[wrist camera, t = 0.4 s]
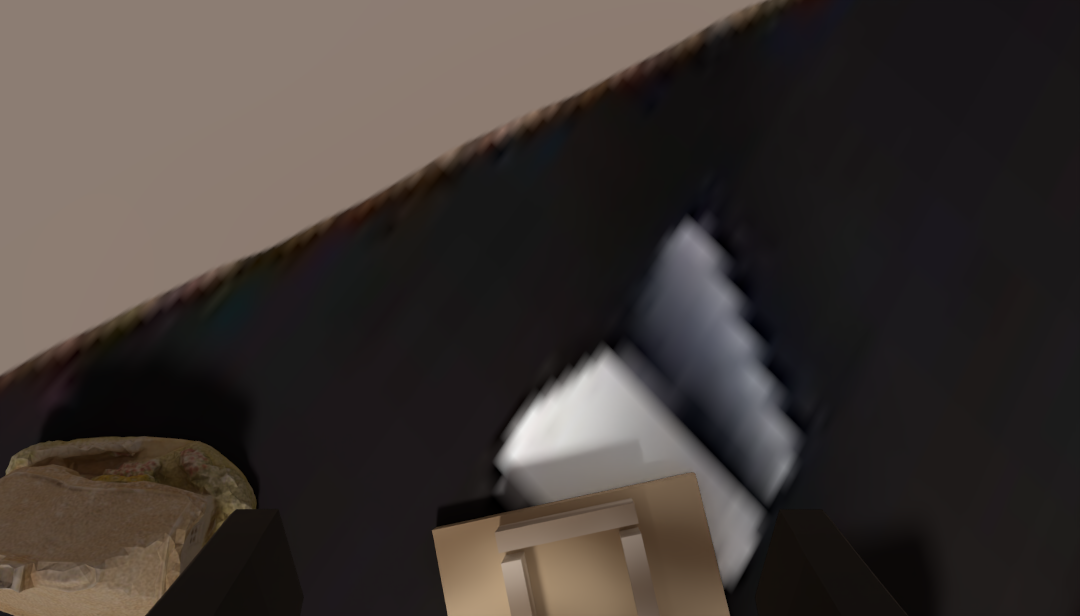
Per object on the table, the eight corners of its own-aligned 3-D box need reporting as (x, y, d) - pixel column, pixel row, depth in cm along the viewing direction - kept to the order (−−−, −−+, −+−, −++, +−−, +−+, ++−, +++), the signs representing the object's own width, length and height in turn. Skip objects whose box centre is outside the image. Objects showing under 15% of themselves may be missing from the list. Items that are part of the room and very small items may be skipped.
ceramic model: (289, 457, 39) (191, 472, 29) (242, 667, 38) (121, 758, 28) (54, 410, 41) (-117, 410, 31) (-1, 613, 39) (-199, 681, 29)
